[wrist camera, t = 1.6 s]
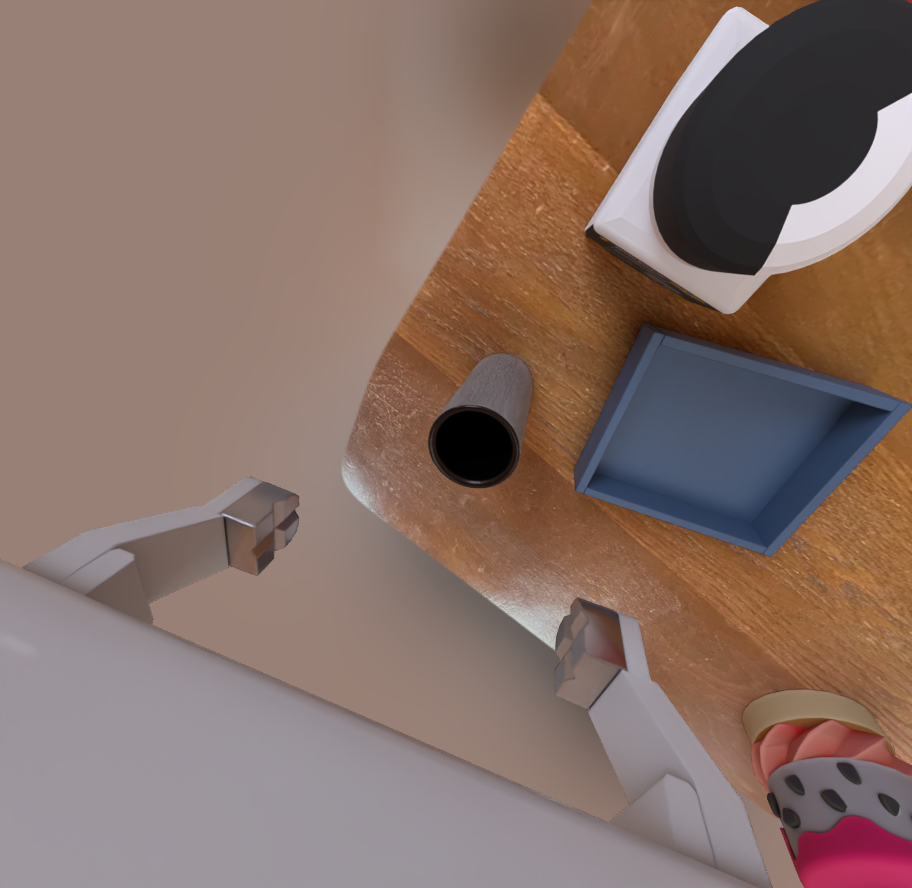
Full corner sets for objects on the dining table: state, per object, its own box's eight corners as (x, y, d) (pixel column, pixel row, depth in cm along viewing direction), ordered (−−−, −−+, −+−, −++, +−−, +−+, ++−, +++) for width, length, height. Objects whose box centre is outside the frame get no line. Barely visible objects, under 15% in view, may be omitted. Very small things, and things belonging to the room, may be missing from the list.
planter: (542, 363, 25) (533, 422, 16) (522, 421, 27) (504, 501, 19) (479, 344, 26) (437, 392, 17) (464, 403, 28) (419, 472, 19)
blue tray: (573, 469, 28) (574, 491, 26) (643, 322, 23) (654, 331, 20) (750, 528, 27) (771, 557, 24) (871, 387, 21) (914, 405, 19)
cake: (711, 710, 36) (796, 966, 23) (824, 671, 31) (1017, 974, 18) (788, 766, 37) (912, 1043, 24) (912, 738, 32) (1156, 1073, 19)
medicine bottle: (581, 235, 21) (601, 216, 11) (674, 84, 18) (835, -150, 7) (683, 300, 22) (798, 342, 11) (796, 165, 18) (1117, 45, 8)
